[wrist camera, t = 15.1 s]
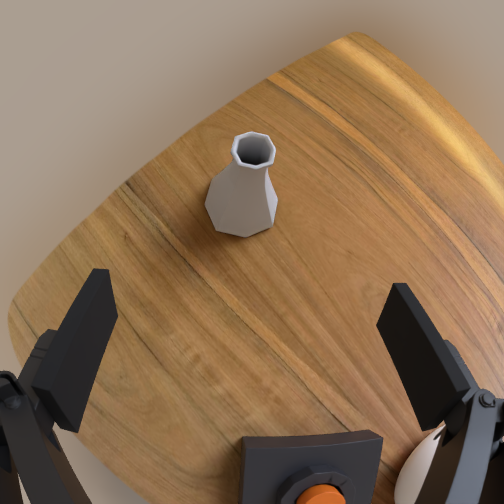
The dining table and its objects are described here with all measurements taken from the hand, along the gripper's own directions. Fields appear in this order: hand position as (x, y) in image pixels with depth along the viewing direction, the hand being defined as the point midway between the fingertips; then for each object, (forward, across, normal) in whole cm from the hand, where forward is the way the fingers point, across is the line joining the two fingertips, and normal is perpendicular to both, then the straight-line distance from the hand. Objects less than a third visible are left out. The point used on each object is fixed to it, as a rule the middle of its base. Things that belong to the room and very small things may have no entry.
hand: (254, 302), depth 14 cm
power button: (-4, +7, -20) cm, 22 cm away
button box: (-1, +7, -23) cm, 24 cm away
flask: (+18, 0, -3) cm, 19 cm away
